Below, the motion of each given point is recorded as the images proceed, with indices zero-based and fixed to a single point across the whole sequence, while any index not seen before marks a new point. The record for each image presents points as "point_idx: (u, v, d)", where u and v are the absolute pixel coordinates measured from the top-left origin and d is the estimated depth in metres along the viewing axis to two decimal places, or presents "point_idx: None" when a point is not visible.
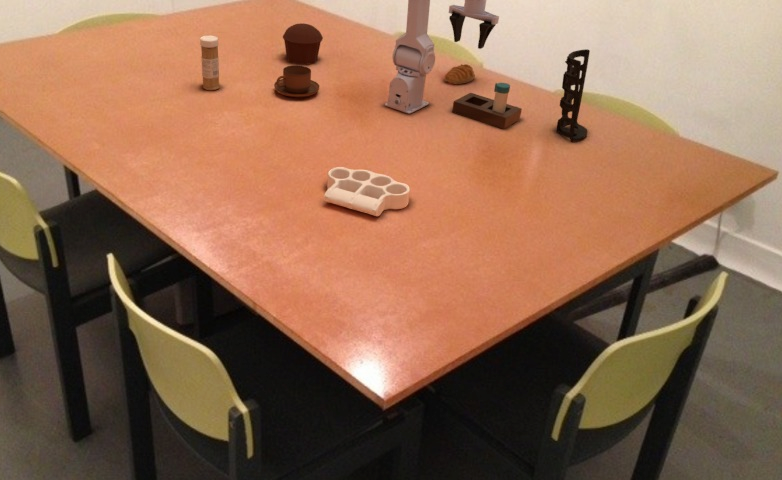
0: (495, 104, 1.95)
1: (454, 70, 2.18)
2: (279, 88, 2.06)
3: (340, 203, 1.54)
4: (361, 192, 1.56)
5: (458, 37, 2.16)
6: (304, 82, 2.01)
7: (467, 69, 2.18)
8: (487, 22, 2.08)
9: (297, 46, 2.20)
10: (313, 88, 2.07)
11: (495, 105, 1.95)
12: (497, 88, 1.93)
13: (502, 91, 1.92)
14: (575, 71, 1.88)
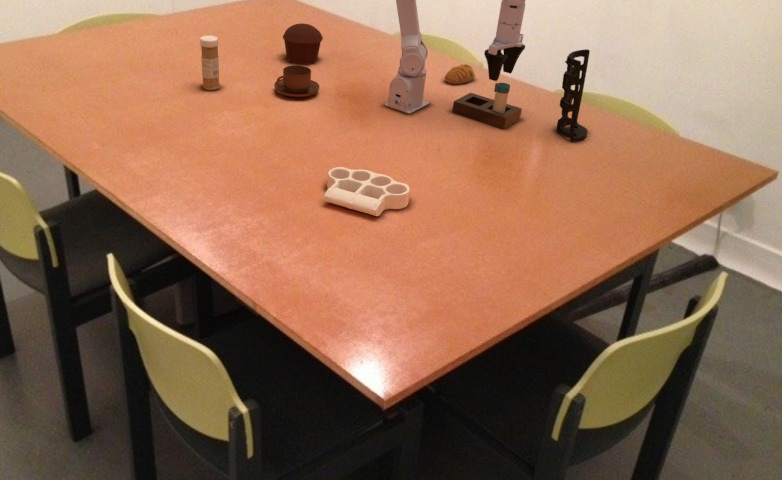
0: (495, 104, 1.95)
1: (454, 70, 2.18)
2: (279, 88, 2.06)
3: (340, 203, 1.54)
4: (361, 192, 1.56)
5: (507, 68, 1.96)
6: (304, 82, 2.01)
7: (467, 69, 2.18)
8: None
9: (297, 46, 2.20)
10: (313, 88, 2.07)
11: (495, 105, 1.95)
12: (497, 88, 1.93)
13: (502, 91, 1.92)
14: (575, 71, 1.88)
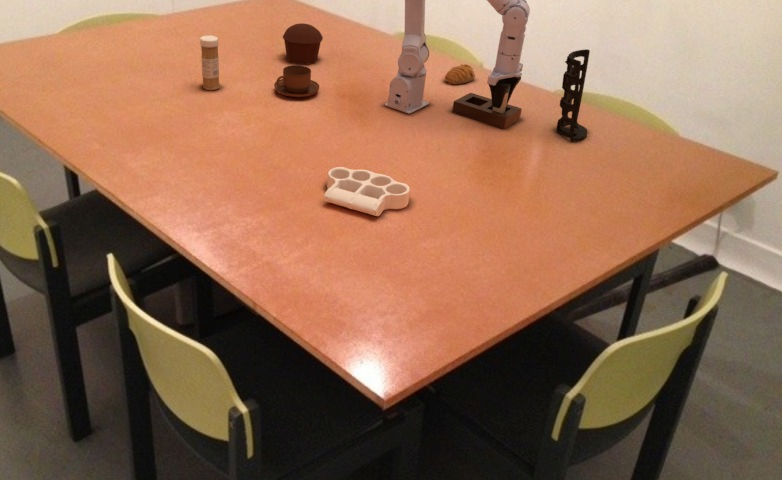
0: None
1: (454, 70, 2.18)
2: (279, 88, 2.06)
3: (340, 203, 1.54)
4: (361, 192, 1.56)
5: None
6: (304, 82, 2.01)
7: (467, 69, 2.18)
8: None
9: (297, 46, 2.20)
10: (313, 88, 2.07)
11: None
12: None
13: None
14: (575, 71, 1.88)
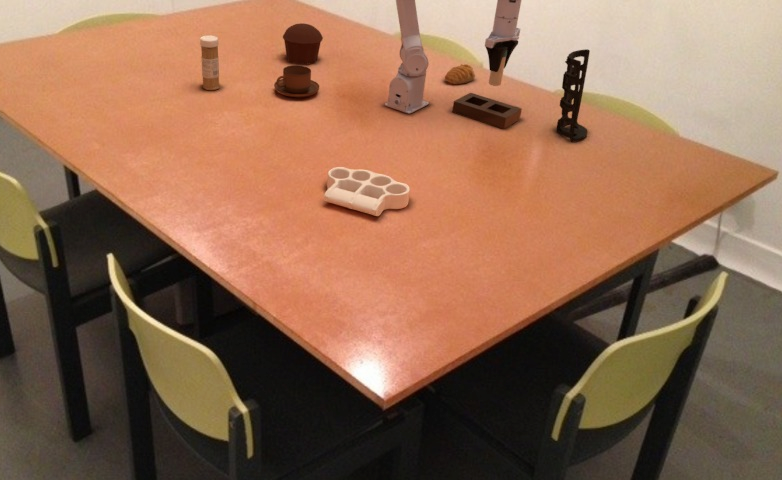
0: None
1: (454, 70, 2.18)
2: (279, 88, 2.06)
3: (340, 203, 1.54)
4: (361, 192, 1.56)
5: None
6: (304, 82, 2.01)
7: (467, 69, 2.18)
8: None
9: (297, 46, 2.20)
10: (313, 88, 2.07)
11: None
12: None
13: None
14: (575, 71, 1.88)
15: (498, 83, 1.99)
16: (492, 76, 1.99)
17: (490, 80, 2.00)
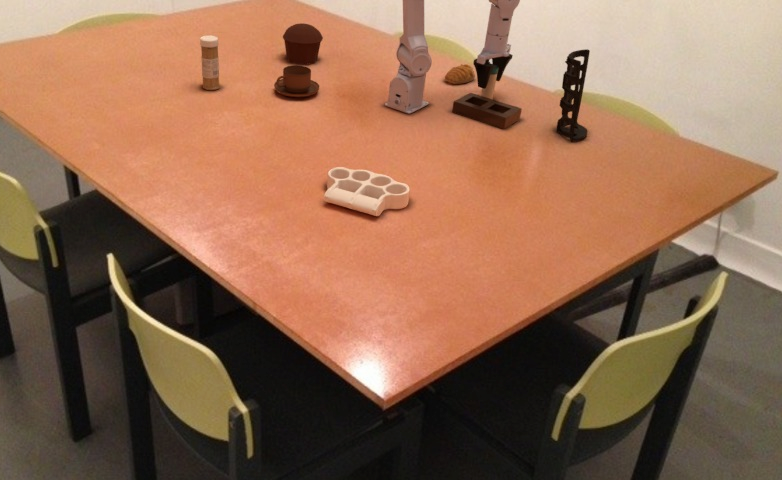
0: None
1: (454, 70, 2.18)
2: (279, 88, 2.06)
3: (340, 203, 1.54)
4: (361, 192, 1.56)
5: None
6: (304, 82, 2.01)
7: (467, 69, 2.18)
8: None
9: (297, 46, 2.20)
10: (313, 88, 2.07)
11: None
12: None
13: (491, 72, 2.03)
14: (575, 71, 1.88)
15: None
16: (484, 92, 2.07)
17: None
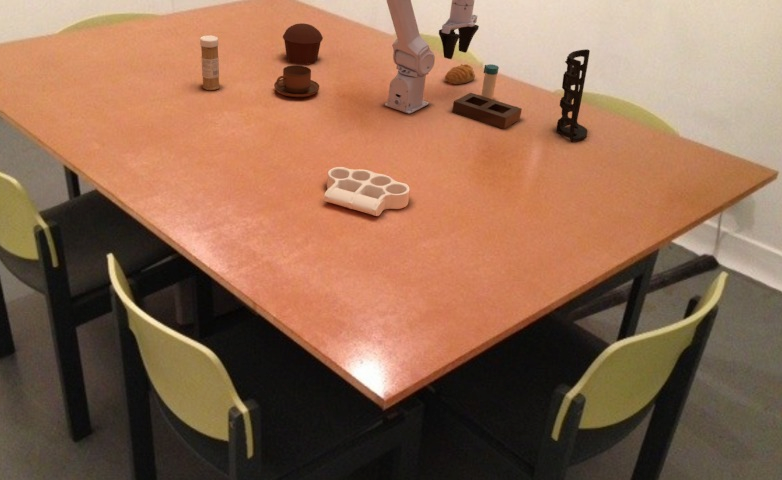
0: (484, 85, 2.06)
1: (454, 70, 2.18)
2: (279, 88, 2.06)
3: (340, 203, 1.54)
4: (361, 192, 1.56)
5: (462, 47, 2.08)
6: (304, 82, 2.01)
7: (467, 69, 2.18)
8: None
9: (297, 46, 2.20)
10: (313, 88, 2.07)
11: (484, 86, 2.06)
12: (486, 69, 2.04)
13: (491, 72, 2.03)
14: (575, 71, 1.88)
15: None
16: (484, 92, 2.07)
17: None
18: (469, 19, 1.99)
